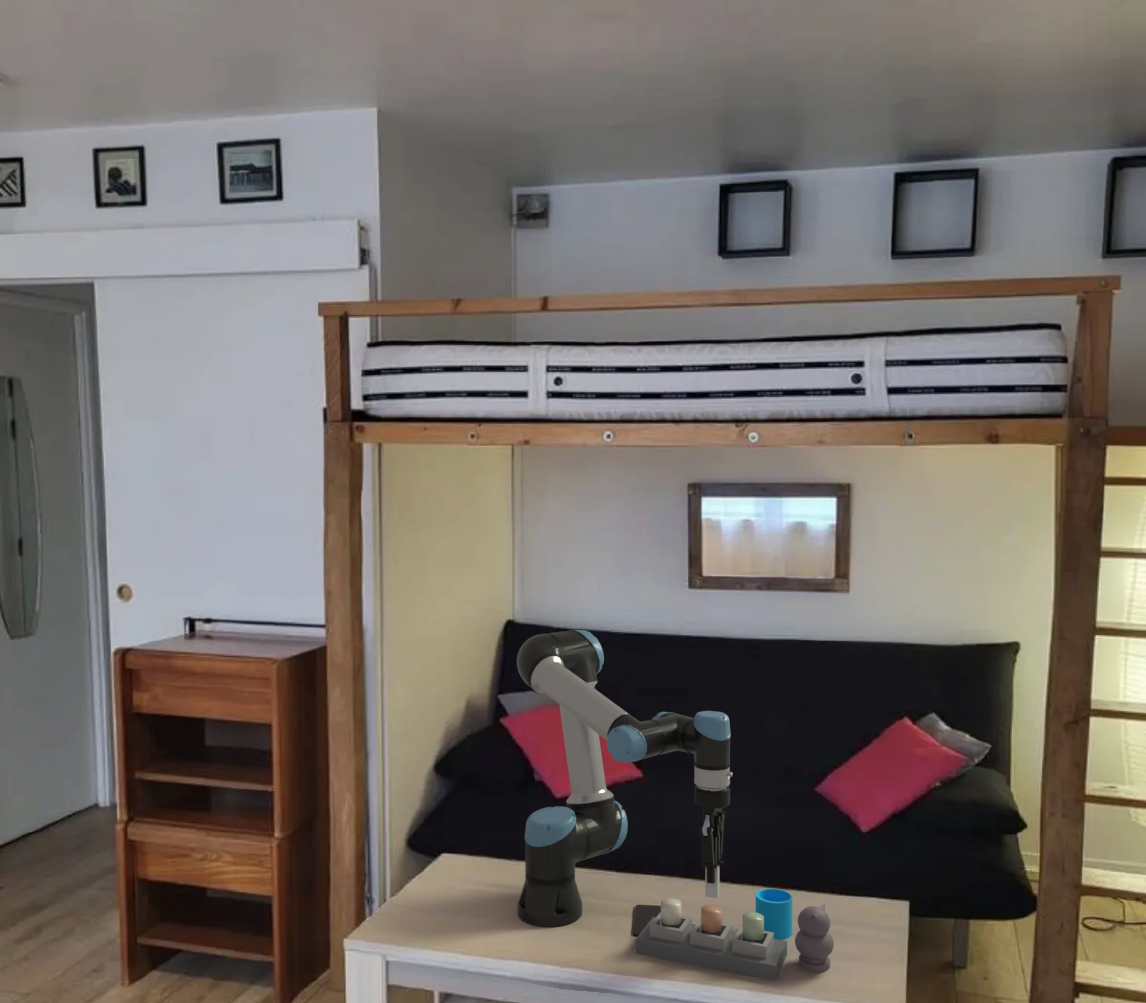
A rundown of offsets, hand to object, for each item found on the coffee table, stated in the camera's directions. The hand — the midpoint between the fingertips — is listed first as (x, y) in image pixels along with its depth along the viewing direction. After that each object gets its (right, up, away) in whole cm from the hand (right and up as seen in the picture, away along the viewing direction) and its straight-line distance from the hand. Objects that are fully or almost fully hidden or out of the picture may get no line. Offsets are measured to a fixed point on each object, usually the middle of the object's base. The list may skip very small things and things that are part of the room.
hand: (712, 896), depth 213 cm
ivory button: (-8, -7, +4) cm, 12 cm away
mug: (+16, -13, +13) cm, 24 cm away
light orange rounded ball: (0, -7, 0) cm, 7 cm away
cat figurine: (+21, -13, -4) cm, 25 cm away
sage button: (+8, -7, -3) cm, 11 cm away
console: (0, -13, 0) cm, 13 cm away
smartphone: (-12, -13, +16) cm, 24 cm away
